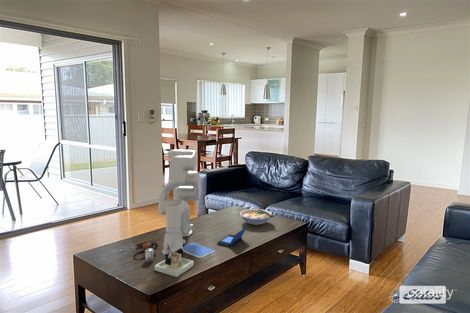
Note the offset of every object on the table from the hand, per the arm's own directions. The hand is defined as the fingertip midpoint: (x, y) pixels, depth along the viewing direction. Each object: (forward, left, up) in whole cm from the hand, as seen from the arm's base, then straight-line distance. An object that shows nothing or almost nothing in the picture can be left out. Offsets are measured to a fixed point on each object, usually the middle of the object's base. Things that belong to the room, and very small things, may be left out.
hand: (174, 260), depth 170 cm
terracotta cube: (-16, -18, -4) cm, 24 cm away
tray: (0, 0, -4) cm, 4 cm away
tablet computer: (-23, -3, -5) cm, 24 cm away
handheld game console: (-44, +9, -4) cm, 45 cm away
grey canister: (0, -17, -4) cm, 17 cm away
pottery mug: (-6, -25, -4) cm, 26 cm away
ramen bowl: (-82, +7, -4) cm, 82 cm away
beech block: (0, 0, -3) cm, 3 cm away
